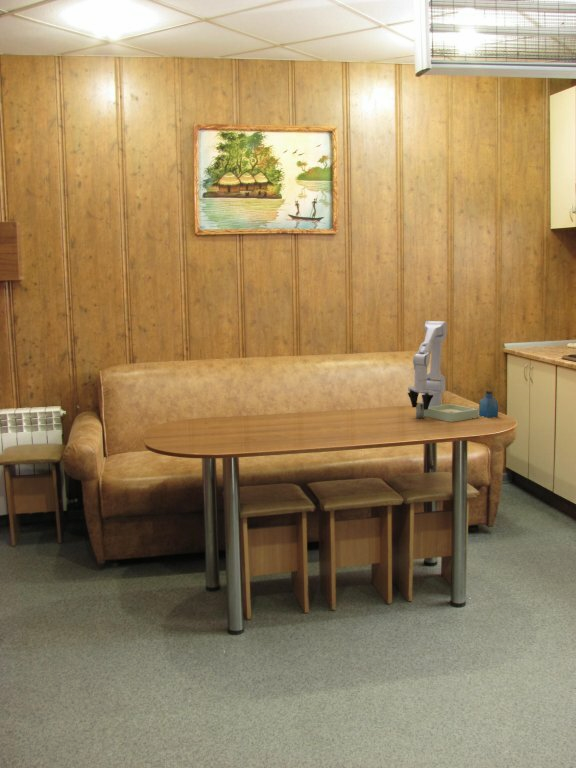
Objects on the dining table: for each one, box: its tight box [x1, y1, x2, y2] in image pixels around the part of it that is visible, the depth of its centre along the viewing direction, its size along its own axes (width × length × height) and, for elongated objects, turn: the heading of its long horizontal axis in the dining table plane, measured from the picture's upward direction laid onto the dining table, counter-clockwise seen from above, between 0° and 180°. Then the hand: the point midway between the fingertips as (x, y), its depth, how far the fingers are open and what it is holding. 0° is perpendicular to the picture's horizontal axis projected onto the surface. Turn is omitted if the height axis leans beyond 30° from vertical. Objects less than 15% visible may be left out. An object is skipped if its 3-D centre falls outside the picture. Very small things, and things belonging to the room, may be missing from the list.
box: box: [424, 403, 479, 423], centre depth 379 cm, size 18×18×4 cm
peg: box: [415, 402, 425, 420], centre depth 376 cm, size 4×4×7 cm
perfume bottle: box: [478, 390, 499, 419], centre depth 380 cm, size 6×6×12 cm
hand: (420, 408), depth 375 cm, fingers open, 7 cm apart
